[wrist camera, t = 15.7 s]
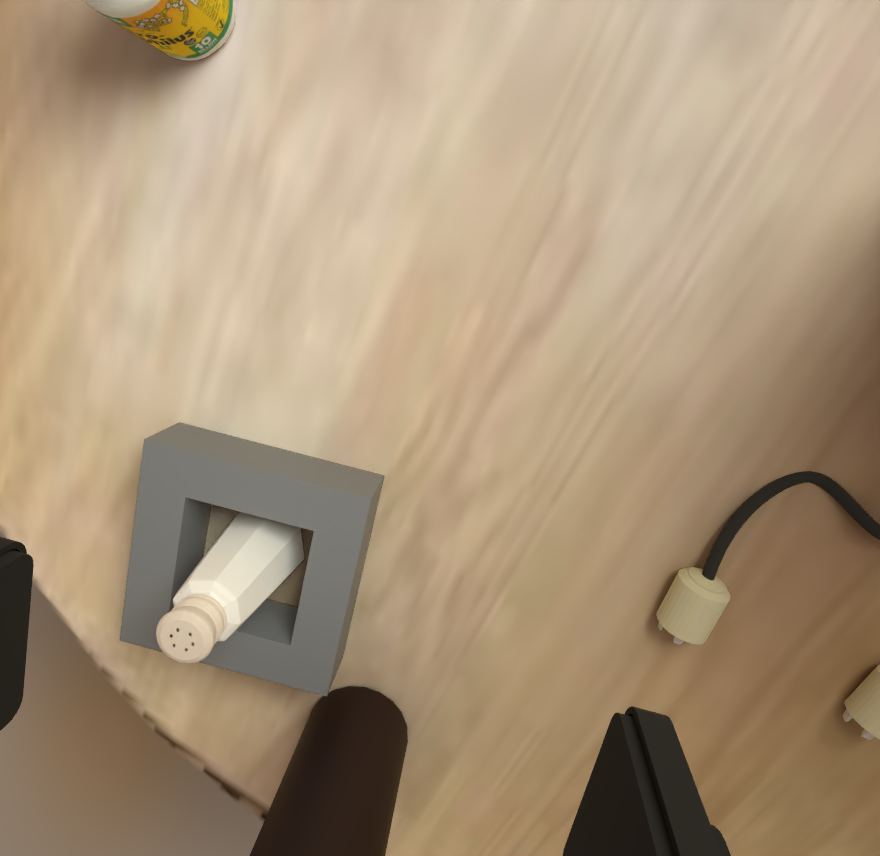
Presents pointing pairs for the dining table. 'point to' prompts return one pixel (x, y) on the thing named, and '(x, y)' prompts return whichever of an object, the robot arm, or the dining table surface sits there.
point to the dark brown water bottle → (339, 780)
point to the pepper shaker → (229, 585)
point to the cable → (705, 596)
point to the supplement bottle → (174, 23)
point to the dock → (264, 495)
